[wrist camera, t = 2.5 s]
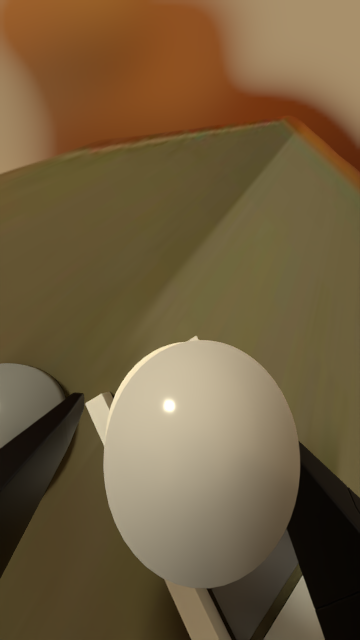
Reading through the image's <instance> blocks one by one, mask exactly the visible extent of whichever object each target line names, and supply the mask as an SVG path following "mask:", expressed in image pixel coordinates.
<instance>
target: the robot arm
mask: <svg viewBox="0 0 360 640" xmlns="http://www.w3.org/2000/svg"><path fill="white" fill-rule="evenodd" d="M83 409H84V394H83V393H73V394H71V395H70V396H69V397H67V398H66V399H65V400H63V401H62V402H61V403H59V404H58V405H57V406H55V407H54V408H53V409H51V410H50V411H49V412H48V413H46V414H45V415H44V416H42V417H41V418H40V419H38V420H37V421H36V422H34V423H33V424H32V425H30V426H29V427H28V428H26V429H25V430H24V431H22V432H21V433H20V434H18V435H17V436H16V437H14V438H13V439H12V440H10V441H9V442H8V443H7V444H5V445H4V446H3V447H1V448H0V578H1V576H2V574H3V572H4V570H5V568H6V566H7V565H8V563H9V561H10V559H11V557H12V555H13V553H14V551H15V549H16V547H17V545H18V543H19V541H20V539H21V537H22V536H23V534H24V532H25V530H26V528H27V526H28V524H29V522H30V520H31V518H32V516H33V514H34V512H35V510H36V509H37V507H38V505H39V503H40V501H41V499H42V497H43V495H44V493H45V491H46V489H47V487H48V485H49V483H50V482H51V480H52V478H53V476H54V474H55V472H56V470H57V468H58V466H59V464H60V462H61V460H62V458H63V456H64V454H65V453H66V450H67V448H68V446H69V444H70V442H71V439H72V437H73V434H74V432H75V429H76V427H77V424H78V422H79V419H80V417H81V415H82V412H83ZM298 442H299V441H298ZM299 451H300V478H299V488H298V493H297V498H296V503H295V506H294V509H293V512H292V515H291V519H290V521H289V523H288V525H287V527H286V528H287V531H288V534H289V537H290V540H291V543H292V545H293V548H294V551H295V554H296V557H297V560H298V563H299V566H300V569H301V571H302V574H303V577H304V580H305V583H306V586H307V589H308V592H309V595H310V598H311V600H312V603H313V606H314V608H315V612H316V615H317V618H318V621H319V624H320V627H321V630H322V633H323V636H324V638H325V640H360V498H359V497H358V496H357V495H356V494H355V493H354V492H353V491H352V490H351V489H350V488H348V487H347V486H346V485H345V484H344V483H343V482H342V481H341V480H340V479H339V478H338V477H337V476H336V475H335V474H333V473H332V472H331V471H330V470H329V469H328V468H327V467H326V466H325V465H324V464H323V463H322V462H321V461H320V460H319V459H317V458H316V457H315V456H314V455H313V454H312V453H311V452H310V451H309V450H308V449H307V448H306V447H305V446H304V445H303V444H301V443H300V442H299Z"/></svg>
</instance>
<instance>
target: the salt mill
mask: <svg viewBox="0 0 360 640" xmlns="http://www.w3.org/2000/svg"><path fill="white" fill-rule="evenodd" d="M299 478H300V451H299V442H298V436H297V431H296V427H295V423H294V420H293V417H292V414H291V411H290V409H289V406H288V404H287V401H286V400H285V398H284V396H283V394H282V392H281V390H280V389H279V387H278V385H277V384H276V382H275V381H274V380H273V378H272V377H271V376H270V375H269V373H268V372H267V371H266V370H265V369H264V368H263V367H262V366H261V365H260V364H259V363H258V362H257V361H255V360H254V359H253V358H252V357H250V356H249V355H247V354H246V353H244V352H243V351H241V350H239V349H237V348H235V347H233V346H230V345H227V344H224V343H220V342H215V341H207V340H196V341H188V342H180V343H175V344H170V345H167V346H164V347H161V348H159V349H157V350H155V351H153V352H152V353H150V354H149V355H147V356H146V357H144V358H143V359H142V360H141V361H140V362H139V363H137V364H136V365H135V366H134V367H133V369H132V370H131V371H130V372H129V373H128V374H127V376H126V377H125V379H124V380H123V382H122V383H121V385H120V387H119V389H118V390H117V392H116V394H115V397H114V399H113V402H112V404H111V408H110V411H109V415H108V419H107V426H106V433H105V448H104V479H105V488H106V493H107V498H108V503H109V506H110V509H111V512H112V515H113V518H114V521H115V523H116V525H117V527H118V529H119V531H120V533H121V535H122V537H123V539H124V541H125V542H126V544H127V545H128V546H129V548H130V549H131V551H132V552H133V553H134V555H135V556H136V557H137V558H138V559H139V560H140V561H141V562H142V563H143V564H144V565H145V566H146V567H147V568H149V569H150V570H151V571H153V572H154V573H156V574H157V575H158V576H160V577H161V578H164V579H166V580H168V581H170V582H172V583H175V584H177V585H181V586H186V587H190V588H213V587H219V586H224V585H227V584H229V583H232V582H234V581H237V580H239V579H241V578H242V577H244V576H245V575H247V574H249V573H250V572H252V571H253V570H254V569H255V568H257V567H258V566H259V565H260V564H261V563H262V562H263V561H264V560H265V559H266V558H267V557H268V556H269V554H270V553H271V552H272V551H273V550H274V548H275V547H276V545H277V544H278V542H279V540H280V539H281V537H282V536H283V534H284V532H285V530H286V527H287V525H288V523H289V521H290V519H291V515H292V512H293V509H294V506H295V503H296V498H297V493H298V488H299Z"/></svg>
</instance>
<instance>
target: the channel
mask: <svg viewBox="0 0 360 640" xmlns="http://www.w3.org/2000/svg"><path fill="white" fill-rule="evenodd" d="M196 340H198V338H197V336H195V337H194V338H192V339H190V340H189V341H196ZM187 342H188V341H187ZM112 402H113V397H112V395H111V393H110V392H107V393H102V394H100V395H98V396H97V397H95V398H94V399H92V400H90V401H89V402H87V403H85V404H86V407H87V409H88V411H89V413H90V416H91V418H92V420H93V422H94V424H95V427H96V429H97V431H98V433H99V436H100V438H101V440H102V442H103V444H104V447H105V433H106V426H107V419H108V415H109V411H110V408H111V404H112ZM297 564H298V560H297V557H296V554H295V551H294V548H293V545H292V543H291V540H290V537H289V534H288V531H287V528H286V530H285V532H284V534H283V536H282V537H281V539H280V540H279V542H278V544H277V545H276V547H275V548H274V550H273V551H272V552H271V553H270V554H269V556H268V557H267V558H266V559H265V560H264V561H263V562H262V563H261V564H260V565H259V566H258V567H257V568H255V569H254V570H253V571H252V572H250V573H249V574H247V575H245V576H244V577H242V578H241V579H239V580H237V581H234V582H232V583H229V584H227V585H224V586H219V587H213V588H211V590H212V592H213V594H214V596H215V598H216V600H217V602H218V604H219V606H220V608H221V610H222V612H223V614H224V616H225V618H226V620H227V622H228V624H229V626H230V628H231V630H232V632H233V634H234V636H235V638H236V640H250V638H251V636H252V635H253V633H254V632H255V630H256V629H257V627H258V625H259V624H260V622H261V621H262V619H263V618H264V616H265V614H266V613H267V611H268V610H269V608H270V607H271V605H272V603H273V602H274V600H275V599H276V597H277V596H278V594H279V593H280V591H281V589H282V588H283V586H284V585H285V583H286V582H287V580H288V578H289V577H290V575H291V574H292V572H293V571H294V569H295V567H296V566H297ZM164 580H165V582H166V584H167V587H168V589H169V591H170V593H171V596H172V598H173V600H174V602H175V604H176V607H177V609H178V611H179V613H180V616H181V618H182V620H183V622H184V624H185V627H186V629H187V631H188V633H189V636H190V638H191V640H232V639H231V637H230V635H229V633H228V631H227V629H226V627H225V625H224V623H223V621H222V619H221V617H220V615H219V613H218V611H217V609H216V607H215V605H214V603H213V601H212V599H211V596H210V594H209V592H208V590H207V588H190V587H186V586H181V585H177V584H175V583H172V582H170V581H168V580H166V579H164ZM263 640H325V638H324V636H323V633H322V630H321V627H320V624H319V621H318V618H317V615H316V612H315V608H314V606H313V603H312V600H311V598H310V595H309V592H308V589H307V586H306V583H305V580H304V577H303V576H302V577H301V579H300V581H299V582H298V584H297V585H296V587H295V589H294V590H293V592H292V594H291V595H290V597H289V598H288V600H287V602H286V603H285V605H284V607H283V608H282V610H281V612H280V613H279V615H278V616H277V618H276V620H275V621H274V623H273V625H272V626H271V628H270V630H269V631H268V633H267V634H266V636H265V638H264V639H263Z"/></svg>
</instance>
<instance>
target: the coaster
mask: <svg viewBox="0 0 360 640" xmlns="http://www.w3.org/2000/svg"><path fill="white" fill-rule="evenodd" d="M65 399H66V397H65V394H64V392H63V390H62V388H61V386H60V385H59V384H58V382H57V381H56V380H55V379H54V378H53V377H52V376H51V375H49V374H48V373H46V372H45V371H43V370H41V369H38V368H35V367H32V366H27V365H20V364H9V363H4V364H0V448H1V447H3V446H4V445H5V444H7V443H8V442H9V441H10V440H12V439H13V438H14V437H16V436H17V435H18V434H20V433H21V432H22V431H24V430H25V429H26V428H28V427H29V426H30V425H32V424H33V423H34V422H36V421H37V420H38V419H40V418H41V417H42V416H44V415H45V414H46V413H48V412H49V411H50V410H51V409H53V408H54V407H55V406H57V405H58V404H59V403H61V402H62V401H63V400H65Z"/></svg>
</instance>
